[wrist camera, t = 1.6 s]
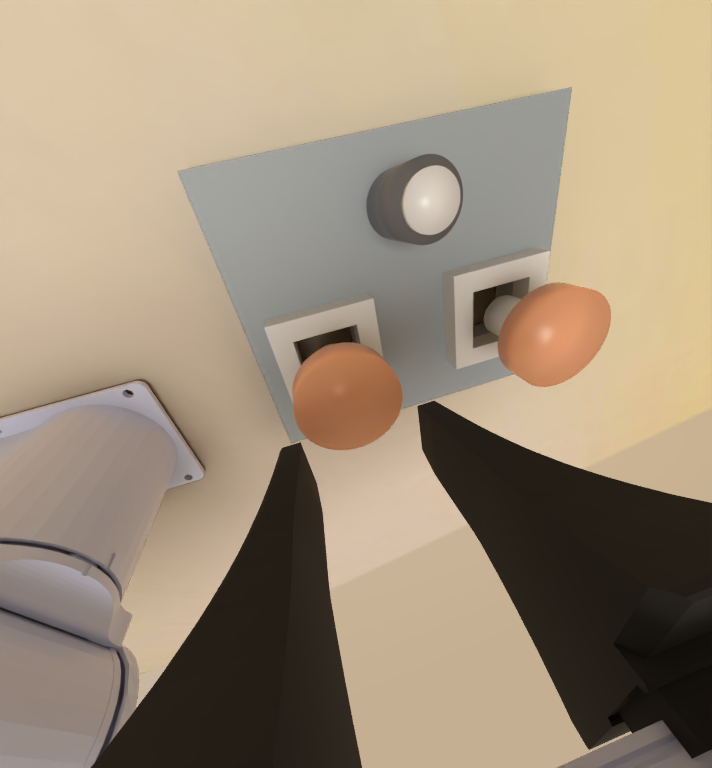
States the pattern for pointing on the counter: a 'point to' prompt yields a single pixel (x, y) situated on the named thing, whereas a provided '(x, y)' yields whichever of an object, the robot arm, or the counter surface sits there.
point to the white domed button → (416, 200)
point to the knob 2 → (549, 331)
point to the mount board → (385, 243)
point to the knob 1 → (345, 396)
